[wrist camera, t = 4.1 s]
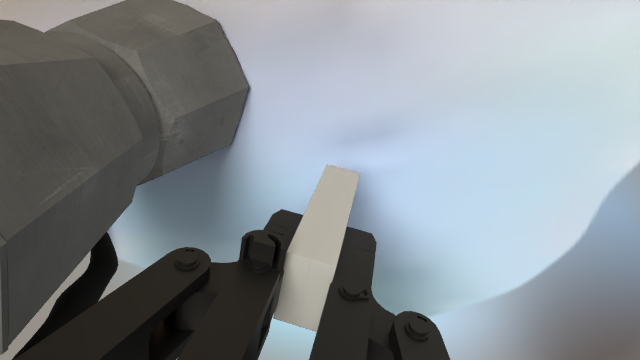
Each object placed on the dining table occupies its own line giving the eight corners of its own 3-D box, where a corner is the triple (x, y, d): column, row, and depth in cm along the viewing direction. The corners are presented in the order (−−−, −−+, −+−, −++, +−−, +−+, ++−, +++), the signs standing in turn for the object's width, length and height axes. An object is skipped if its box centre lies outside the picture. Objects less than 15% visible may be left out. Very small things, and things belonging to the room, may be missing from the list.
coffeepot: (63, -51, 20) (-1273, -205, 4) (239, -58, 18) (-840, -359, 2) (131, 212, 27) (-272, 543, 11) (264, 224, 25) (21, 637, 9)
